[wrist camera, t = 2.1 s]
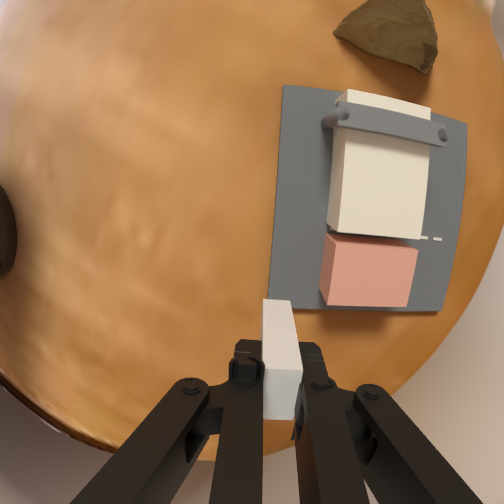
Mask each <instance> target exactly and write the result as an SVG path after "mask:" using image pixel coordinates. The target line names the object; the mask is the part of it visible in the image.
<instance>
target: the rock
mask: <svg viewBox="0 0 504 504" xmlns="http://www.w3.org/2000/svg"><path fill="white" fill-rule="evenodd" d="M333 34H334V35H335V36H337V37H342V38H344V39H346V40H347V41H349V42H351V43H353V44H354V45H355V46H357V47H359V48H360V49H362V50H363V51H364V52H369V53H372V54H374V55H376V56H378V57H383V58H386V59H392V60H395V61H397V62H399V63H402V64H409V65H411V66H413V67H414V68H416V69H418V70H419V71H420V72H422V73H426V74H427V73H428V72H429V71H430V69H432V67H433V63H434V61H435V58H436V56H437V53H438V49H437V33H436V31H435V27H434V22H433V17H432V14H431V11H430V9H429V8H428V7H427V5H426V3H425V0H367V1H366V2H364V3H363V4H362V5H360V6H359V7H358V8H357V9H355V10H354V11H352V12H351V13H350V14H348V16H347V17H346V18H345V19H344V20H343V21H342V22H341V23H340V25H339V26H338V27H337V28H336V29H335V30H334V31H333Z"/></svg>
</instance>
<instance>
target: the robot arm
mask: <svg viewBox="0 0 504 504" xmlns="http://www.w3.org/2000/svg"><path fill="white" fill-rule="evenodd" d="M16 241H17V239H16V226H15V220H14V215H13V211H12V208H11V205H10V202H9V199H8V197H7V195H6V193H5V192H4V190H3V188H2V187H1V186H0V279H2V278H4V277H5V276H6V275H7V274H8V273H9V271H10V270H11V268H12V265H13V262H14V259H15V254H16ZM323 360H324V359H323V356H322V353H321V349H320V347H319V346H318V345H316V344H315V343H314V342H298V339H297V334H296V329H295V323H294V318H293V313H292V308H291V303H290V301H289V300H273V299H263V307H262V318H261V330H260V340H246V339H241V340H240V341H239V342H238V343H237V344H236V345H235V352H234V358H233V359H231V361H230V362H229V379H228V381H226V382H225V383H223V384H220V385H216V386H208V384H207V383H206V382H204V381H203V380H201V379H198V378H184V379H181V380H179V381H177V382H176V383H175V384H174V385H173V386H172V387H171V389H170V390H169V391H168V392H167V393H166V395H165V396H164V397H163V398H162V399H161V400H160V402H159V403H158V404H157V405H156V406H155V408H154V409H153V410H152V411H151V412H150V413H149V415H148V416H147V417H146V418H145V419H144V420H143V421H142V423H141V424H140V425H139V426H138V427H137V428H136V430H135V431H134V432H133V433H132V434H131V435H130V437H129V438H128V439H127V440H126V441H125V442H124V443H123V445H122V446H121V447H120V448H119V449H118V450H117V451H116V453H115V454H114V455H113V456H112V457H111V458H110V459H109V461H108V462H107V463H106V464H105V465H104V466H103V467H102V468H101V470H100V471H99V472H98V473H97V474H96V475H95V476H94V477H93V478H92V480H91V481H90V482H89V483H88V484H87V485H86V486H85V487H84V488H83V490H82V491H81V492H80V493H79V494H78V495H77V496H76V497H75V499H73V500H72V502H71V503H70V504H170V502H171V501H172V499H173V498H174V496H175V494H176V493H177V491H178V489H179V488H180V486H181V485H182V483H183V481H184V480H185V478H186V476H187V475H188V473H189V471H190V470H191V468H192V466H193V465H194V463H195V461H196V460H197V458H198V456H199V454H200V453H201V451H202V449H203V448H204V446H205V444H206V442H207V441H208V439H209V436H210V435H214V434H220V436H219V443H218V449H217V455H216V461H215V468H214V474H213V480H212V487H211V493H210V499H209V504H262V474H263V469H262V467H263V419H272V420H293V418H294V414H295V419H296V421H295V425H294V429H293V434H292V438H291V440H294V437H295V448H296V460H297V471H298V484H299V497H300V504H370V503H369V499H368V495H367V491H366V487H365V483H364V480H365V482H366V483H367V485H368V487H369V488H370V490H371V492H372V493H373V495H374V497H375V498H376V500H377V501H378V503H379V504H483V503H482V502H481V500H480V499H479V498H478V497H477V496H476V495H475V493H474V492H473V491H472V490H471V489H470V487H468V485H467V484H466V483H465V482H464V480H463V479H462V478H461V477H460V476H459V475H458V474H457V472H456V471H455V470H454V469H453V468H452V467H451V465H450V464H449V463H448V462H447V461H446V460H445V458H444V457H443V456H442V455H441V454H440V453H439V451H438V450H436V448H435V447H434V446H433V445H432V443H431V442H430V441H429V440H428V439H427V438H426V436H425V435H424V434H423V433H422V432H421V431H420V430H419V428H418V427H417V426H416V425H415V424H414V423H413V421H412V420H411V419H410V418H409V417H408V416H407V415H406V413H405V412H404V411H403V410H402V409H401V408H400V407H399V405H398V404H397V403H396V402H395V401H394V400H393V399H392V397H391V396H390V395H389V394H388V393H387V392H386V391H385V390H384V389H383V388H382V387H380V386H377V385H374V384H363V385H361V386H359V387H358V388H357V389H356V392H353V391H348V390H344V389H340V388H338V387H337V385H336V383H335V381H334V380H333V379H331V378H330V377H329V376H328V373H327V370H326V366H325V363H324V361H323ZM363 478H364V479H363Z"/></svg>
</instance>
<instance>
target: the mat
mask: <svg viewBox="0 0 504 504" xmlns="http://www.w3.org/2000/svg"><path fill="white" fill-rule="evenodd" d="M343 93H344V92H339V91H333V90H326V89H319V88H311V87H303V86H293V85H283V92H282V109H281V125H280V141H279V156H278V171H277V185H276V198H275V212H274V225H273V237H272V250H271V262H270V274H269V285H268V297H267V299H273V300H289V301H290V303H291V308H300V309H323V310H354V311H441V310H442V307H443V303H444V299H445V295H446V291H447V287H448V283H449V279H450V275H451V270H452V266H453V261H454V256H455V251H456V245H457V240H458V234H459V227H460V220H461V213H462V205H463V197H464V186H465V174H466V158H467V124H466V123H463V122H460V121H458V120H455V119H452V118H448V117H445V116H442V115H439V114H436V113H432V112H430V120H431V121H434V122H437V123H441V124H444V125H446V131H447V132H448V136H449V137H448V140H447V141H446V147H440V148H438V147H434V146H430V152H429V168H428V181H427V191H426V201H425V209H424V217H423V224H422V231H421V237H420V240H418V239H408V238H398V237H388V236H378V235H367V234H356V233H344V232H337V231H336V230H335V229H333V228H332V227H331V226H330V225H328V224H327V223H326V222H327V212H328V202H329V191H330V179H331V166H332V152H333V135H334V127H333V128H332V129H330V130H325V129H323V128H322V126H321V120H322V119H323V118H325V117H326V116H327V115H328V114H329V113H331V112H332V111H333V110H334V109H335V100H336V99H337V98H338V97H339V96H340V95H341V94H343ZM325 233H329V234H341V235H353V236H364V237H375V238H386V239H397V240H400V241H402V242H404V243H406V244H407V245H409V246H411V247H413V248H415V249H416V250H418V255H417V260H416V266H415V271H414V276H413V280H412V285H411V289H410V294H409V298H408V302H407V306H406V307H374V306H339V305H327V304H326V301H325V299H324V297H323V295H322V293H321V291H320V289H319V279H320V272H321V264H322V257H323V248H324V240H325Z"/></svg>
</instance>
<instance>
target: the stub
mask: <svg viewBox="0 0 504 504" xmlns="http://www.w3.org/2000/svg"><path fill="white" fill-rule="evenodd" d="M417 255H418V250H416V249H415V248H413V247H411V246H409V245H407V244H406V243H404V242H402V241H400V240H397V239H386V238H375V237H364V236H353V235H341V234H329V233H325V240H324V248H323V257H322V264H321V272H320V279H319V289H320V291H321V293H322V295H323V297H324V299H325V301H326V304H327V305H339V306H374V307H406V306H407V302H408V298H409V294H410V289H411V285H412V280H413V276H414V271H415V266H416V260H417Z"/></svg>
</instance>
